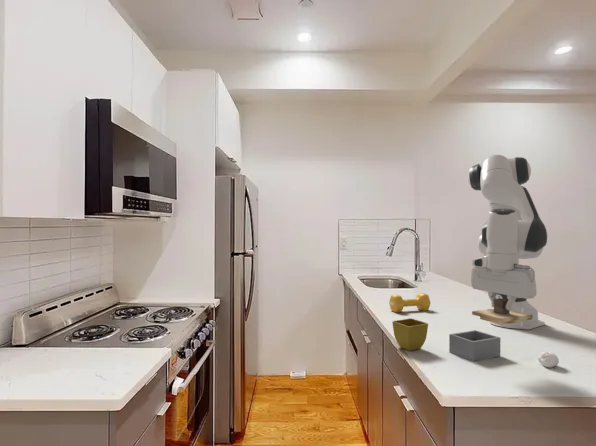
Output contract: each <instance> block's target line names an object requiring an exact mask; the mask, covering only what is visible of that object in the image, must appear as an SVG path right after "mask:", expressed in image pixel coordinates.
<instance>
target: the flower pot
mask: <svg viewBox="0 0 596 446" xmlns="http://www.w3.org/2000/svg"><path fill="white" fill-rule="evenodd" d="M391 322H392V329H393V336H394V339H395V342H396V344H398V346H399V348H402V349H404V350H407V351H409V352H410V351H414V350H419V349H422V347H423V346H424V344H425V342H426V340H427V336H428V328H429V323H428V322H425V321H422V320H418V319H415V318H405V319H404V318H403V319H399V320H398V319H397V320H392V321H391Z"/></svg>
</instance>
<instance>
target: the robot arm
mask: <svg viewBox="0 0 596 446" xmlns="http://www.w3.org/2000/svg"><path fill="white" fill-rule="evenodd" d="M531 174H532V167H531V165H530V163H529V162H528V160H527V159H526V158H525V157H521V156H520V157H519V156H518V157H517V156H516V157H513V158H507V157H506V156H504V155H501V154H492V155H490V156H488V157H486V159H484V161H483V163H478V164H474V165H472V166H471V167H470V168H469V169H468V172H467V181H468V184H469V185H470V187H471V189H472V190H474V191H481V193H482V195H483V197H484V198H485V199H487V200H488V208H489V211H488V216H487V221H485V223H483V224H482V225H481V226H480V228H481V235H479V237H478V239H477V247H478V250H479V252H480V253H481V254H482V255H483V256H481V257H478V258H474V259H472V261H471V262H472V263H471V264H472V267H473V268H472V270H471V275H470V276H471V277H470V279H471V280H470V283H471V287H472V288H473V290H478V291H484V292H487V296H488V298H489V299H490V301H491V308H490V309H494V299H500V298H501V299H506V300H508V302H507V304H504V309H505V310H508V311H511V310H513V311H518V312H522V313H526V314H531V315H532V318H529V319H523V322H516V323H509V324H502V325H501V324H497V323H493V322H489V323H490V325H493V326H497V327H501V328H507V329H508V328H509V329H520V330H531V329H535V328H538V327H542V326H544V325H545V324H546V323H545V321H543V320H540V319H539V312H538V309H537V308H535V306H534V305H532V304H530V302H529V301H527V300H528V299H534V298H535V297H536V296H537V283H536V271H535V270H534V269H533V268H532V267H531V266H530V265H527V264H526V265H524V264H520V261H519V260H529V259H537V258H538V257H539V256H541V254H542V252H543V250H544V247H546V245H547V243H548V231H547V228H546V225H545V224H544V222H543V220H542V219H541V218H540V215H539V213H538V210H537V208H536V206H535V204H534V201H533V198H532V197H531V194H530V193H529V191H528V189H527V188H526V187H525V186H522V185H524V184H526V183H527V182H528V181H529V180H530V177H531Z"/></svg>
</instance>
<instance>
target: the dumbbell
mask: <svg viewBox="0 0 596 446" xmlns="http://www.w3.org/2000/svg"><path fill="white" fill-rule="evenodd" d="M388 304H389V307H390V311H392V312H393V313H396V314H398V313H401V312H403V309H404V308H405V307H407V308H408V307H416V309H418V310H419V311H423V312H427V311H429V309H430V306H431V300H430V296H429V295H428V294H427V293H426V292H425V293H424V292H420V293H417V295H416V296H415V298H407V299H403V297H402V295H399V294H396V293H395V294H391V295H390V298H389V303H388Z"/></svg>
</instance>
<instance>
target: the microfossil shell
mask: <svg viewBox="0 0 596 446" xmlns="http://www.w3.org/2000/svg"><path fill="white" fill-rule="evenodd" d="M537 360H538V362H539V363H540V364H541V365H542V366H544V367H545V368H553V367H554V368H555V367H556V366H558V365H559V362H560V360H559V358H558V356H557V355H556V354H555V353H554V352H549V351H542V352H541V353H540V354H539V355H538V357H537Z"/></svg>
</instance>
